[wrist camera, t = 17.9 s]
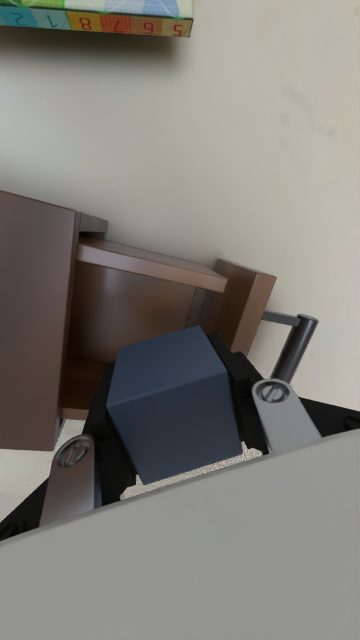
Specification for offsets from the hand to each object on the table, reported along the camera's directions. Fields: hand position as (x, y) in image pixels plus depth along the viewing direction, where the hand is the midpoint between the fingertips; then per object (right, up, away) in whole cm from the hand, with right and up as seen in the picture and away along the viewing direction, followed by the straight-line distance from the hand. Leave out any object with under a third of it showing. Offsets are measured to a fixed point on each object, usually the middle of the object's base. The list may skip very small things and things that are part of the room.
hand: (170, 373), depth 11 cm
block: (0, 0, 0) cm, 0 cm away
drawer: (-1, +3, +8) cm, 8 cm away
